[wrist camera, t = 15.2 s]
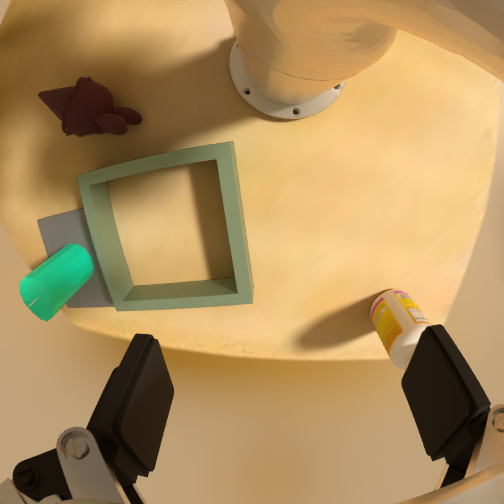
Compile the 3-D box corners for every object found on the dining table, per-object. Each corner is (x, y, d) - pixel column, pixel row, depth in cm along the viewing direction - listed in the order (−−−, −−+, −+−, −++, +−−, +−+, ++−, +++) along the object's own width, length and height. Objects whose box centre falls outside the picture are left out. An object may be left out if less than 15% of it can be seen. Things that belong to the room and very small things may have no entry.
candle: (100, 276, 37) (55, 325, 26) (72, 284, 38) (29, 329, 27) (82, 238, 35) (29, 278, 24) (56, 249, 36) (5, 288, 24)
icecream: (17, 129, 23) (112, 166, 27) (26, 71, 19) (130, 101, 22) (50, 113, 28) (137, 145, 32) (61, 63, 24) (156, 90, 28)
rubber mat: (38, 219, 34) (37, 220, 34) (92, 206, 33) (90, 206, 33) (69, 306, 40) (68, 307, 40) (122, 304, 39) (121, 306, 39)
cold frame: (93, 170, 31) (76, 175, 28) (233, 141, 30) (229, 142, 26) (127, 295, 38) (116, 311, 35) (253, 286, 37) (252, 303, 33)
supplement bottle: (372, 331, 40) (401, 394, 28) (364, 297, 37) (397, 361, 26) (411, 314, 39) (448, 371, 27) (406, 279, 36) (451, 335, 24)
